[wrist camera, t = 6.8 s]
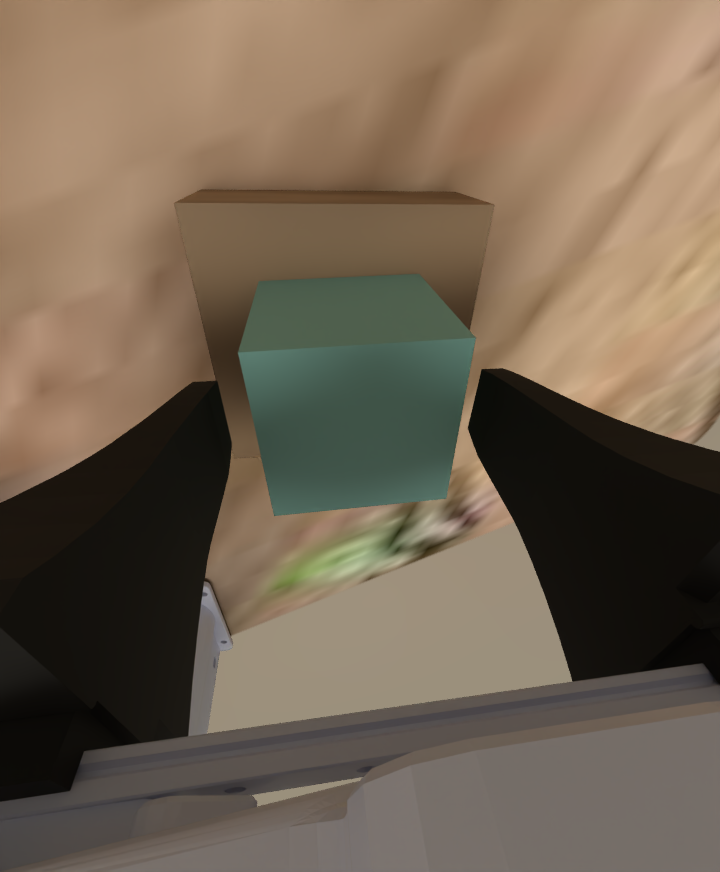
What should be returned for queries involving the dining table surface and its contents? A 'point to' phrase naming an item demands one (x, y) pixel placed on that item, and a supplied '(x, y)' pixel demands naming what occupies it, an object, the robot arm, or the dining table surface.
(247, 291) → the walnut block
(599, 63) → the dining table surface
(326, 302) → the teal cube
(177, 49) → the dining table surface
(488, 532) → the dining table surface
